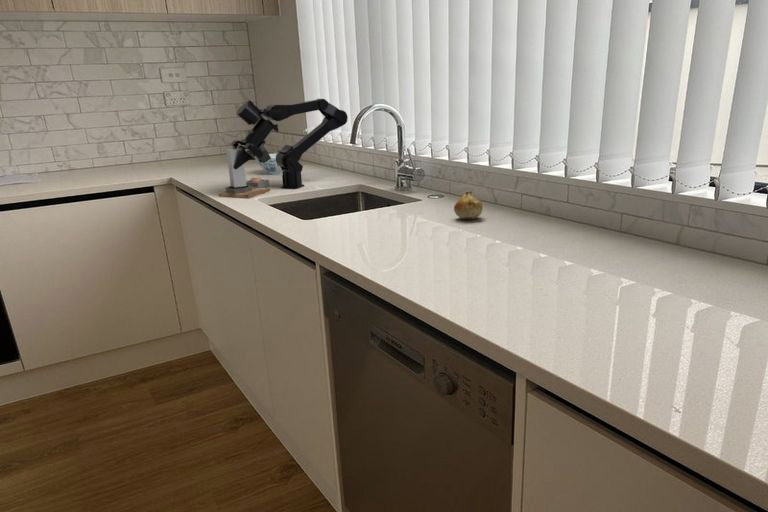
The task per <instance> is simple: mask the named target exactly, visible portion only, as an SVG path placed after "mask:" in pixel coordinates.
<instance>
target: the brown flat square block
mask: <svg viewBox="0 0 768 512" xmlns="http://www.w3.org/2000/svg"><path fill="white" fill-rule="evenodd" d="M224 189H225V191H221V192H218V197H220V198H221V197H222V198H237V199H251V198H255V197H257V195H258V196H261V195H264V194H267V193H270V192H269V191H271V188H270V187H265V188H257V187H251V186H250V185H247V186H243V187H236V188H234V187H232V186H231V185H229V186H225V188H224ZM266 192H267V193H266ZM263 193H264V194H263ZM260 194H261V195H260ZM254 196H255V197H254Z"/></svg>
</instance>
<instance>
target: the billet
mask: <svg viewBox="0 0 768 512" xmlns="http://www.w3.org/2000/svg"><path fill="white" fill-rule="evenodd" d="M239 151H240V149H239V148H237V149H233V148H229V149H225V153H226V159H227V166H228V167H227V168H228V173H229V184H230V186H232V187H234V188H236V187H243V186H247V185H246V181H247V177H246V169H245V163H244V164H243V165H242V166H240V167H239V168H238V169H234V165H235V162H236V159H237V156H238V154H239Z"/></svg>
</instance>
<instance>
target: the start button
mask: <svg viewBox="0 0 768 512" xmlns="http://www.w3.org/2000/svg"><path fill="white" fill-rule="evenodd" d="M261 179H262V178H261V177H259V176H257V177H251V178H249V180H250V181H251V182H260V181H261Z"/></svg>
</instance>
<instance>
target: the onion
mask: <svg viewBox="0 0 768 512" xmlns="http://www.w3.org/2000/svg"><path fill="white" fill-rule="evenodd" d="M453 210H454V211H453V212H454V213H455V215H456V216H457V217H459V218H460V219H462V220H466V219H472V220H474V219H477V218H479V216H481V214H483V204H482V202H481V200H479V199H477V198H476V197H475V195H474V192H473V190H472V189H471V190H466V191H465V193H464V195H462V196H461V197H460V198H459V199H458V200H457V202H456V203H455V204H454V207H453Z"/></svg>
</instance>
